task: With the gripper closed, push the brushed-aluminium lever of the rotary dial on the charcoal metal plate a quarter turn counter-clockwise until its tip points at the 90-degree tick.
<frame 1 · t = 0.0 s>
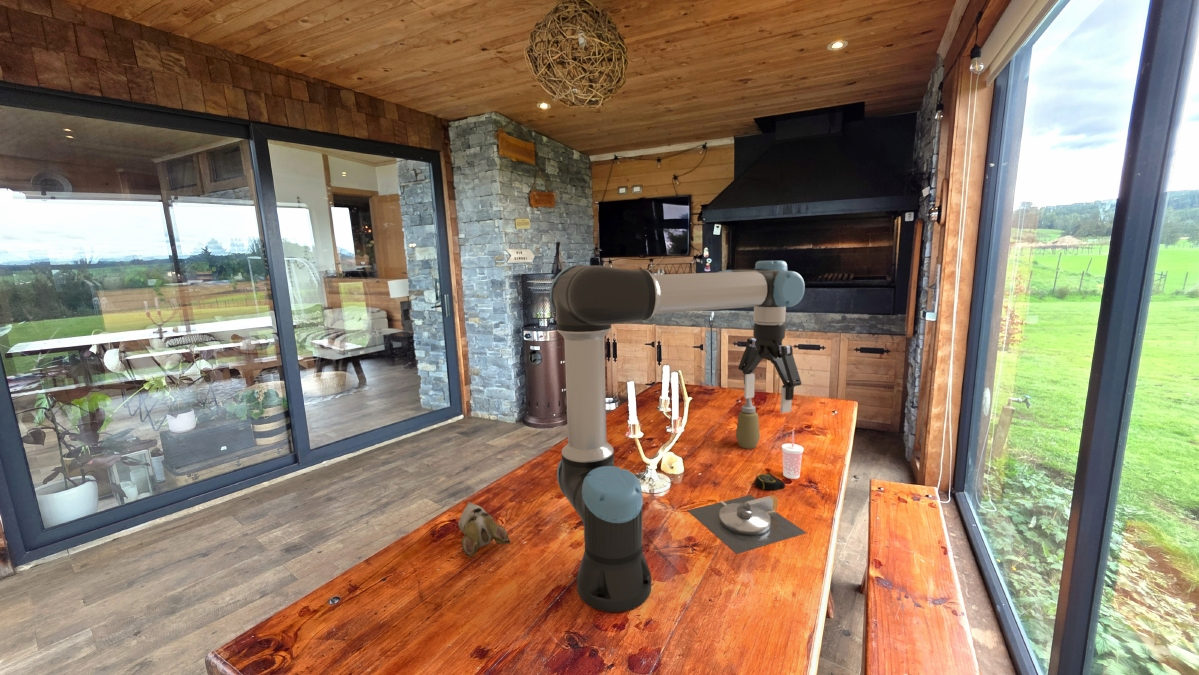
hand: (766, 404, 122), 28 cm above the table, fingers open, 13 cm apart
plate: (744, 526, 117), on the table
dial: (750, 511, 117), point 4 cm above the table, hinge at 0.0°
ceramic sculpture: (480, 543, 113), on the table
squeeze bottle: (747, 446, 167), on the table
beverage cup: (791, 475, 144), on the table
tape measure: (769, 489, 136), on the table
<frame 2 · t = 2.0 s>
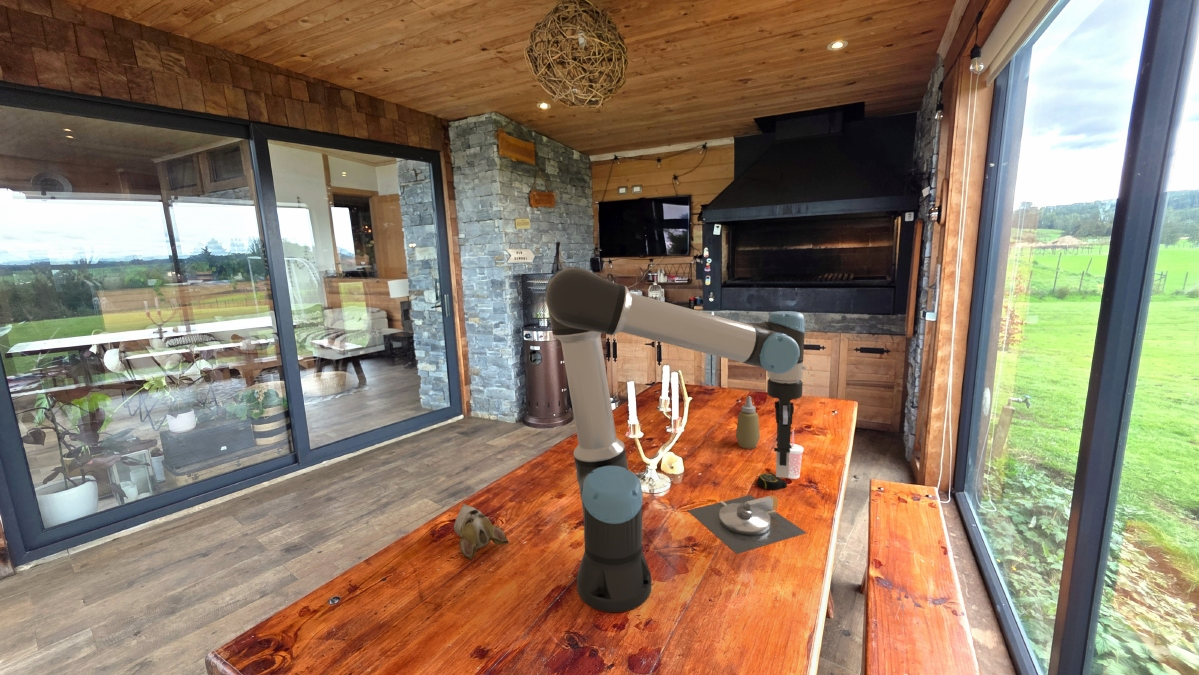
hand: (782, 475, 112), 14 cm above the table, fingers closed
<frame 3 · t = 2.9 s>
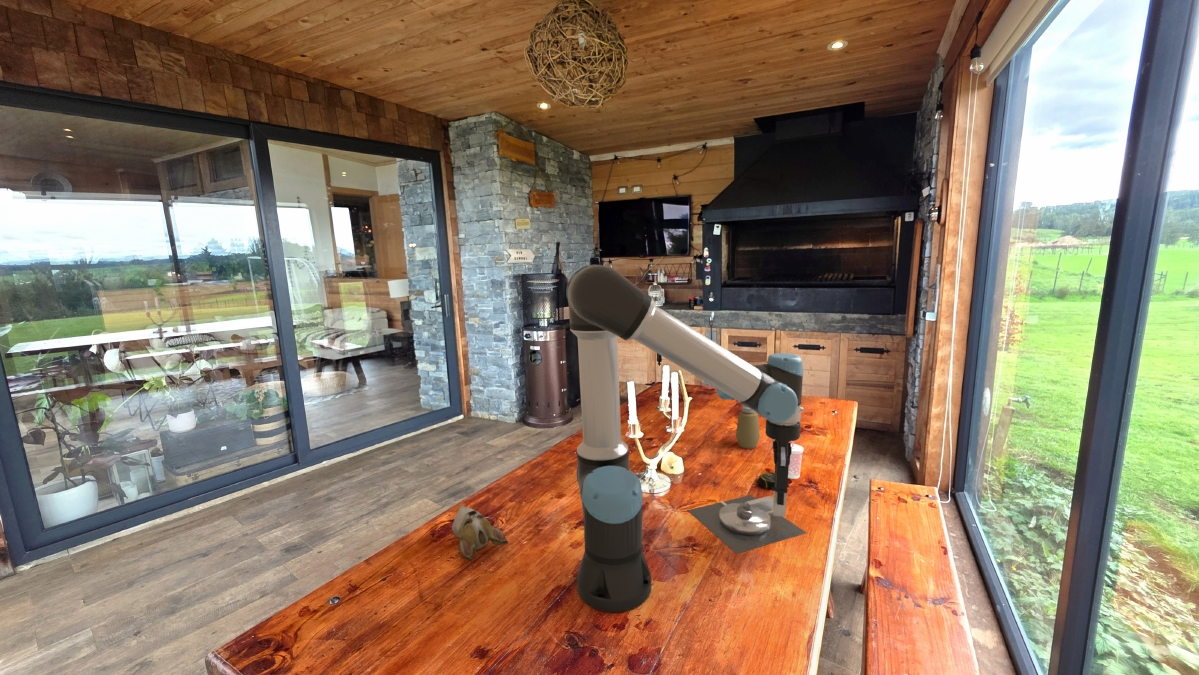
hand: (779, 514, 114), 5 cm above the table, fingers closed
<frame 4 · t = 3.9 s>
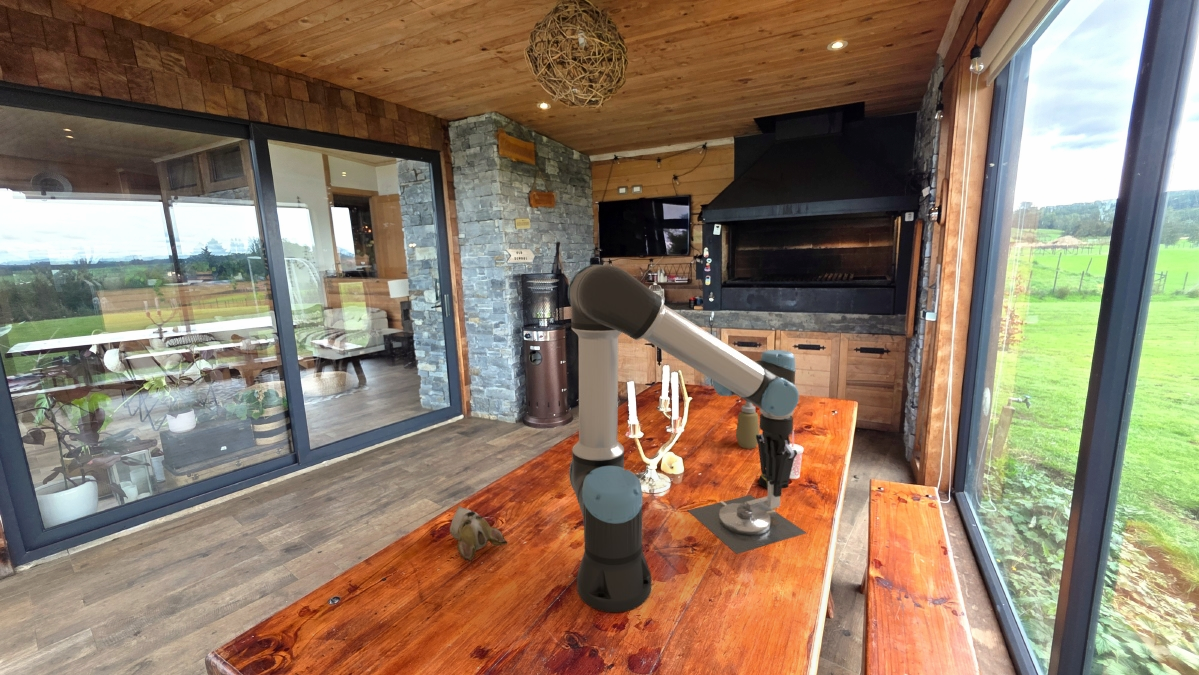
hand: (773, 506, 118), 5 cm above the table, fingers closed
dial: (750, 511, 117), point 4 cm above the table, hinge at 0.4°, touching gripper
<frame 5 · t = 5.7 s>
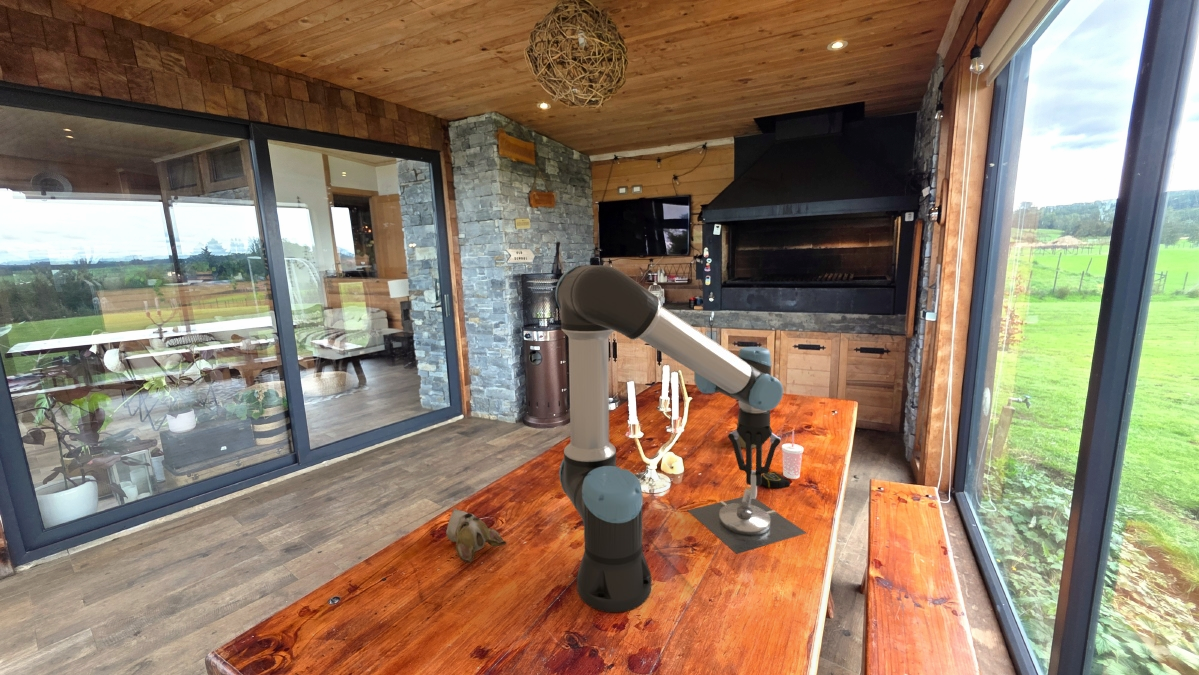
hand: (753, 496, 123), 4 cm above the table, fingers closed
dial: (745, 509, 118), point 4 cm above the table, hinge at 45.1°, touching gripper
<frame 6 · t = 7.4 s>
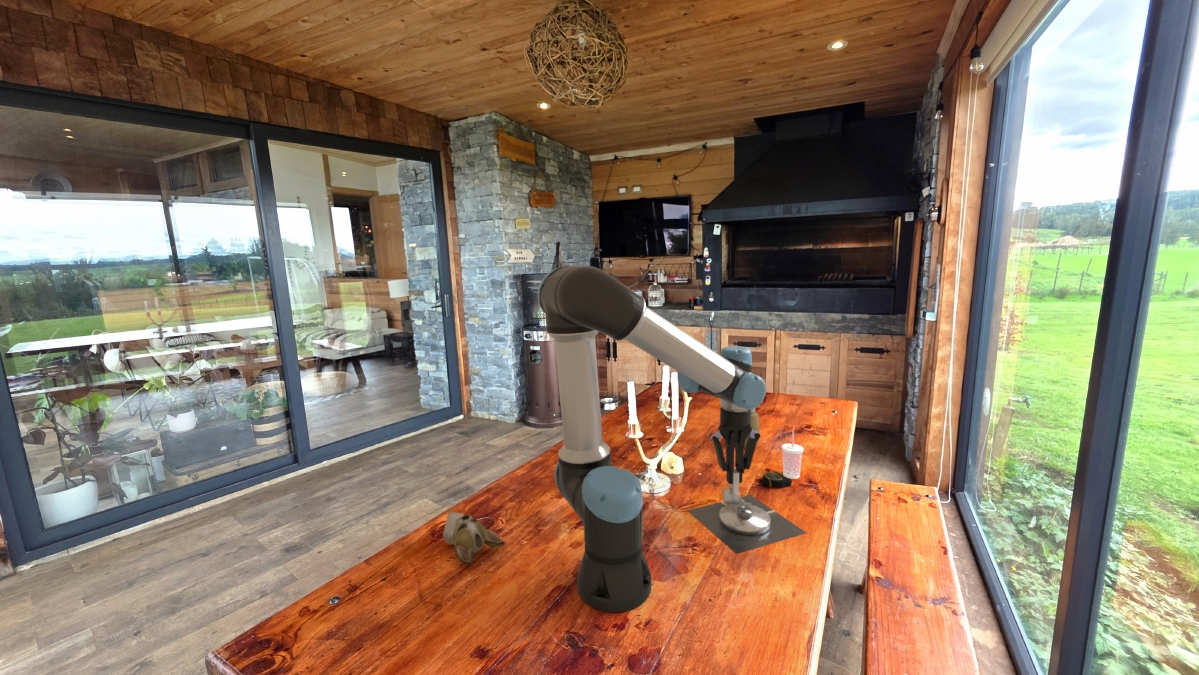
hand: (734, 494, 124), 5 cm above the table, fingers closed
dial: (740, 509, 118), point 4 cm above the table, hinge at 83.8°, touching gripper
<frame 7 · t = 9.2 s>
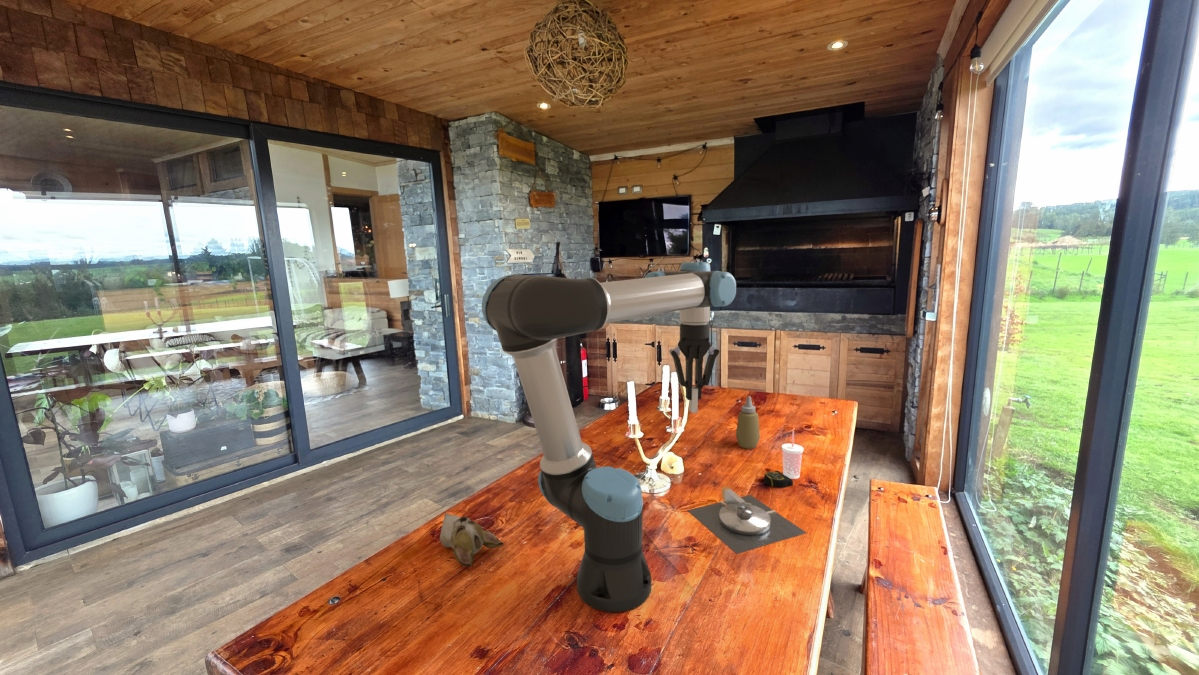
hand: (693, 411, 125), 26 cm above the table, fingers closed
dial: (740, 509, 118), point 4 cm above the table, hinge at 83.8°
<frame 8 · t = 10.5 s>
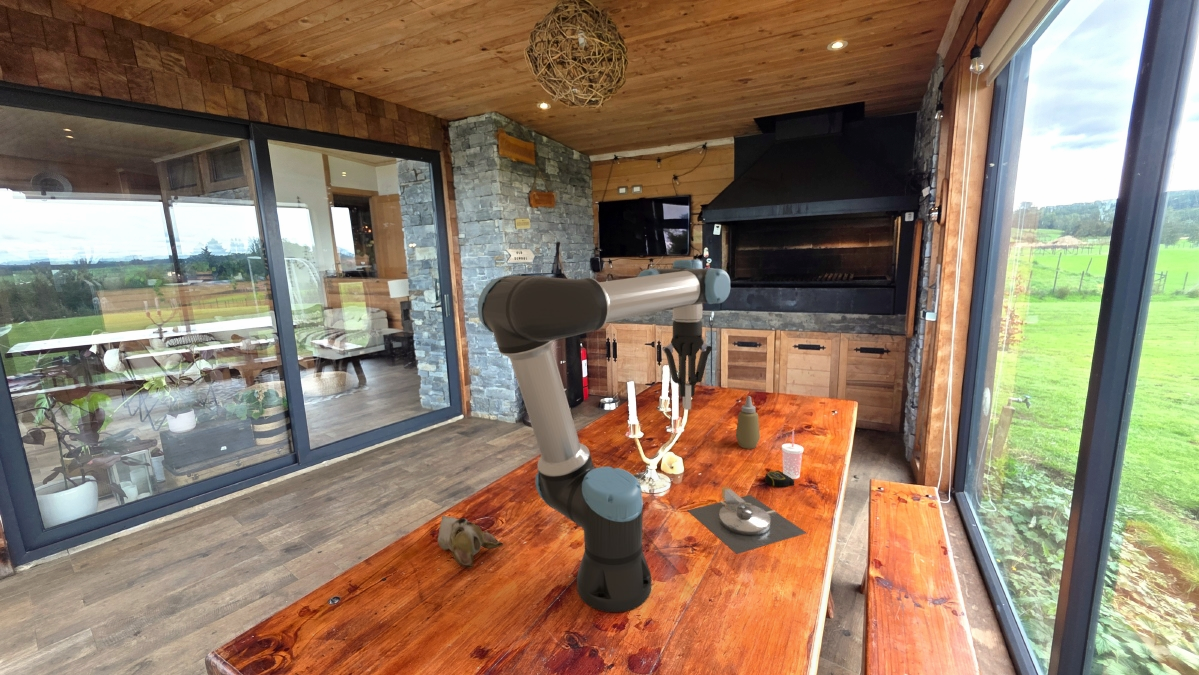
hand: (686, 407, 126), 26 cm above the table, fingers closed
at the end: dial at +84° (first picture: +0°) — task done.
